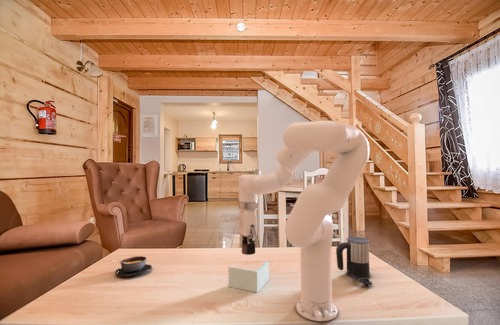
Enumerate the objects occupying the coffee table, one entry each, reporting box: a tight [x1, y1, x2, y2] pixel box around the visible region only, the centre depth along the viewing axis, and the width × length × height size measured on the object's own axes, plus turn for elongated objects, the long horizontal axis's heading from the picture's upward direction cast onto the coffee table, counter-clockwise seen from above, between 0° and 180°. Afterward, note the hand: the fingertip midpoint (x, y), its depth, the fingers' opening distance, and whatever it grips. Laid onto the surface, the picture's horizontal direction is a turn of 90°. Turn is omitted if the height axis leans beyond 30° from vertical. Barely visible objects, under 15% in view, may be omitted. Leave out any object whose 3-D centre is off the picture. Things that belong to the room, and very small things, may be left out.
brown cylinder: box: [241, 243, 253, 256], centre depth 105 cm, size 5×5×3 cm
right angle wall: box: [227, 260, 270, 293], centre depth 105 cm, size 12×12×8 cm
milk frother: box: [335, 236, 373, 287], centre depth 108 cm, size 14×16×15 cm
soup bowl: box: [111, 255, 153, 278], centre depth 117 cm, size 15×16×7 cm
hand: (248, 250), depth 105 cm, fingers closed on brown cylinder, 5 cm apart
